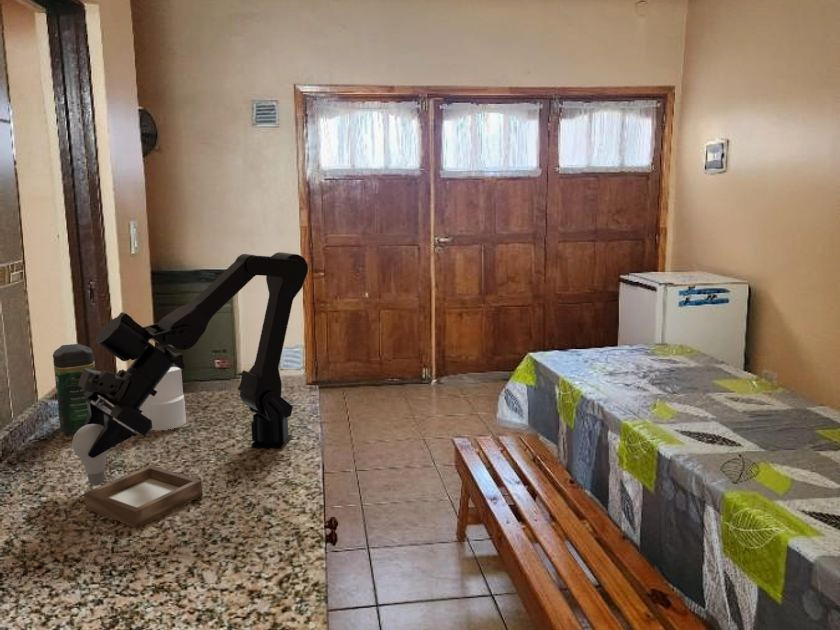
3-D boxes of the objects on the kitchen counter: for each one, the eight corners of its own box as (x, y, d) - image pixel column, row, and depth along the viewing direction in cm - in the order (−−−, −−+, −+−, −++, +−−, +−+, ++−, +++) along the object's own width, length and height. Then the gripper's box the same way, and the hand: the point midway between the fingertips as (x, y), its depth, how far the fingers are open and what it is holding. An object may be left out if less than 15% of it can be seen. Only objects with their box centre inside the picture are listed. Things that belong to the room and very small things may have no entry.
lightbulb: (124, 480, 119) (117, 421, 117) (94, 495, 114) (87, 433, 112) (99, 475, 122) (92, 416, 120) (69, 489, 116) (61, 428, 114)
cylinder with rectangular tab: (170, 414, 158) (166, 364, 156) (194, 422, 153) (190, 370, 150) (134, 425, 151) (130, 373, 148) (158, 433, 146) (154, 380, 143)
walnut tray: (152, 479, 123) (150, 465, 122) (202, 495, 116) (201, 480, 116) (85, 509, 112) (83, 493, 111) (137, 528, 105) (135, 511, 105)
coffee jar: (103, 431, 147) (94, 348, 144) (62, 438, 143) (52, 353, 140) (98, 418, 155) (90, 339, 152) (59, 424, 151) (50, 343, 148)
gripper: (89, 341, 123) (29, 414, 118) (125, 360, 109) (58, 443, 104) (138, 374, 129) (83, 444, 124) (177, 396, 115) (117, 476, 111)
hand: (84, 451), depth 116 cm, fingers closed on lightbulb, 6 cm apart
